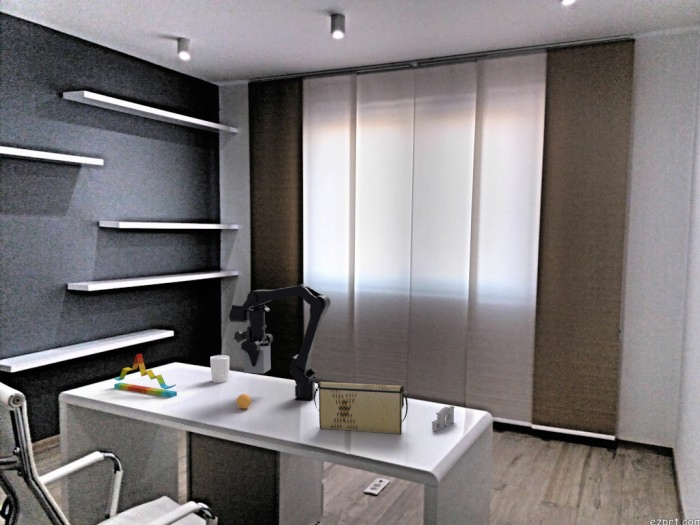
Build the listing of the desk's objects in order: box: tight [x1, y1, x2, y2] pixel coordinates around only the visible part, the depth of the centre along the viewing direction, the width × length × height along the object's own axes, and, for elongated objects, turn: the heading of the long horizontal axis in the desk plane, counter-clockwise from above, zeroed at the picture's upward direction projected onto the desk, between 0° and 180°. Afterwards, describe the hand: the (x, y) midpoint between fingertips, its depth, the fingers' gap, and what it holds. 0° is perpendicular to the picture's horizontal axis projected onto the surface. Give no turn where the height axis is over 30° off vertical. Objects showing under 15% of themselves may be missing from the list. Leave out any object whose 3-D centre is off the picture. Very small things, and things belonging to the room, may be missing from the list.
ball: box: [236, 393, 252, 410], centre depth 200 cm, size 5×5×5 cm
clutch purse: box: [313, 381, 409, 435], centre depth 178 cm, size 30×7×15 cm, turn 78°
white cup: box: [209, 354, 230, 384], centre depth 238 cm, size 8×8×10 cm
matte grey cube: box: [243, 345, 272, 374], centre depth 216 cm, size 8×8×9 cm
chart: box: [113, 353, 178, 398], centre depth 222 cm, size 30×3×15 cm, turn 63°
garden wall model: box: [431, 405, 455, 432], centre depth 180 cm, size 12×2×6 cm, turn 141°
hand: (257, 364), depth 216 cm, fingers closed on matte grey cube, 8 cm apart
